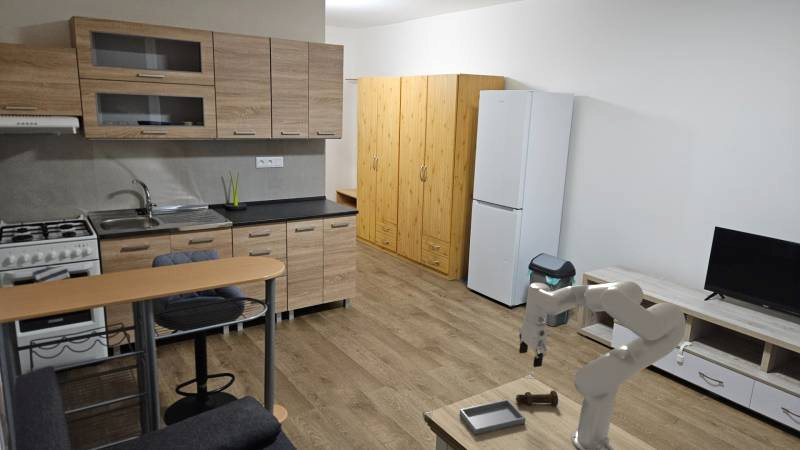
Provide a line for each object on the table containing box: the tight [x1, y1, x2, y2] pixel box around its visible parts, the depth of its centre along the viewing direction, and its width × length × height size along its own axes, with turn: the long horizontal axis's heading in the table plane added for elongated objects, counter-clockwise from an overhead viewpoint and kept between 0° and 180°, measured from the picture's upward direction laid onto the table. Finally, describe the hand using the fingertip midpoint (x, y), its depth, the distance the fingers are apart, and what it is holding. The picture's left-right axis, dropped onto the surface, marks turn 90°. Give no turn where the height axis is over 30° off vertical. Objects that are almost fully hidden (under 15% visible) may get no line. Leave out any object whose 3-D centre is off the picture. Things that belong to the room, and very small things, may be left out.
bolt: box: [515, 390, 559, 407], centre depth 197 cm, size 6×5×15 cm
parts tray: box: [459, 398, 526, 436], centre depth 186 cm, size 11×20×2 cm, turn 112°
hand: (530, 359), depth 193 cm, fingers open, 9 cm apart
